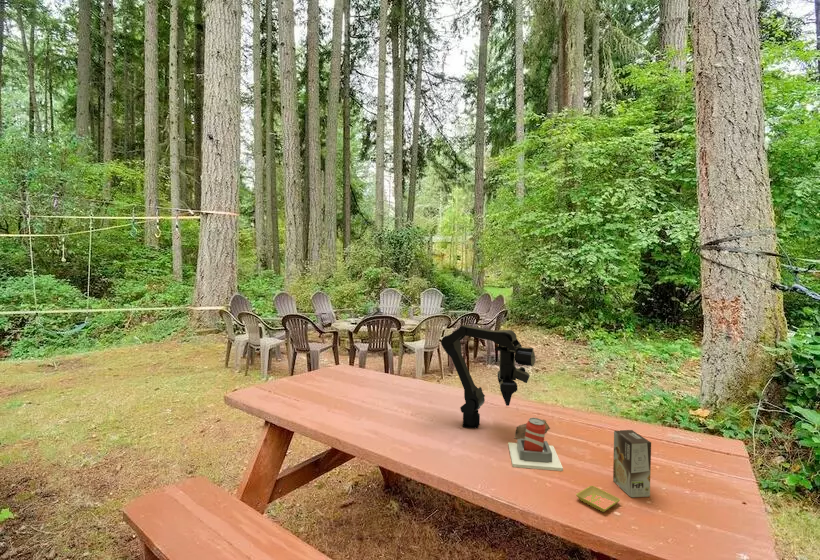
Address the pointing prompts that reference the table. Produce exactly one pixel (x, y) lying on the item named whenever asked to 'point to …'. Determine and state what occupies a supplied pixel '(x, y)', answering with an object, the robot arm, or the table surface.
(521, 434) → the brown fossil slab
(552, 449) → the can holder
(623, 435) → the coffee box
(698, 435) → the table surface
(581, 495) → the olive green tray
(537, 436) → the beverage can
